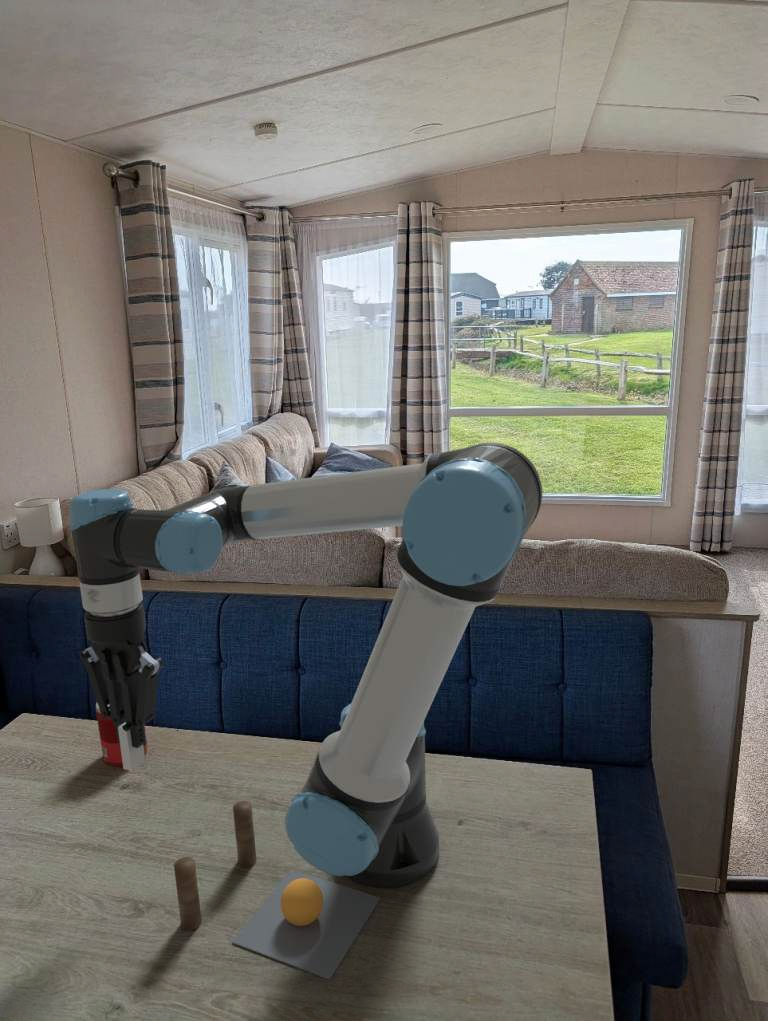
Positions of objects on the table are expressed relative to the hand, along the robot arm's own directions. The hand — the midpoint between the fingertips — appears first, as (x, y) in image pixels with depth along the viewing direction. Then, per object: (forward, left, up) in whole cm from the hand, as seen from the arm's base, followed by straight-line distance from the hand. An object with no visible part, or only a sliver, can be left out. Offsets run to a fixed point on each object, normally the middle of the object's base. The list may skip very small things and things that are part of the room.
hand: (134, 764), depth 105 cm
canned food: (+24, -21, -17) cm, 36 cm away
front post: (-13, +6, -16) cm, 22 cm away
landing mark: (-27, 0, -16) cm, 32 cm away
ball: (-26, 0, -14) cm, 30 cm away
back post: (-13, -6, -16) cm, 22 cm away
